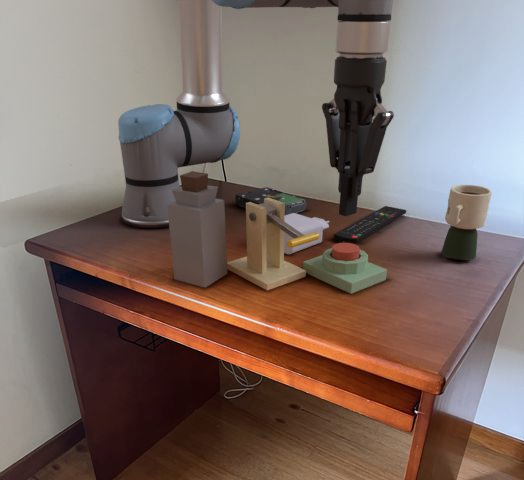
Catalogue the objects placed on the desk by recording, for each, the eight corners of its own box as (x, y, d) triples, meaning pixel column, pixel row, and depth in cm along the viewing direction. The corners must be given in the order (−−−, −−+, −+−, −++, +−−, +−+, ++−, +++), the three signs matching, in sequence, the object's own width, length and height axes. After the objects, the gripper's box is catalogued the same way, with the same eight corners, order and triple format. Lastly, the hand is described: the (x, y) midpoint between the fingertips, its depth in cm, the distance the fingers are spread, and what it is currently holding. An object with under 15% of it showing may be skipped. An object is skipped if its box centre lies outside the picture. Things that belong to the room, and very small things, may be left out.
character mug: (451, 245, 110) (463, 180, 104) (486, 253, 107) (501, 186, 100) (428, 261, 103) (439, 193, 96) (464, 271, 99) (478, 200, 93)
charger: (341, 237, 115) (292, 256, 106) (309, 226, 120) (259, 243, 112) (343, 215, 112) (292, 232, 104) (310, 205, 118) (259, 221, 109)
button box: (302, 271, 100) (303, 251, 98) (337, 259, 104) (338, 239, 102) (350, 294, 92) (352, 272, 90) (386, 279, 97) (388, 258, 94)
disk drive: (234, 206, 134) (275, 219, 124) (234, 194, 132) (275, 207, 123) (266, 197, 140) (307, 210, 130) (266, 186, 138) (307, 198, 129)
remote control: (405, 215, 126) (406, 210, 126) (355, 246, 110) (355, 240, 109) (384, 211, 129) (385, 205, 128) (332, 241, 113) (332, 234, 112)
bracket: (306, 276, 98) (308, 206, 91) (267, 290, 93) (266, 217, 86) (264, 256, 106) (263, 190, 99) (226, 268, 101) (223, 200, 94)
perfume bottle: (204, 287, 94) (197, 182, 85) (174, 279, 97) (164, 176, 88) (227, 274, 99) (223, 172, 90) (197, 266, 102) (190, 167, 93)
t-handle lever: (318, 243, 90) (320, 230, 89) (290, 252, 87) (293, 239, 85) (272, 212, 97) (274, 200, 95) (245, 219, 94) (247, 207, 92)
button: (325, 256, 97) (326, 246, 96) (344, 249, 99) (345, 240, 98) (345, 264, 93) (346, 254, 92) (364, 257, 96) (365, 248, 95)
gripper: (413, 57, 77) (392, 219, 90) (346, 51, 86) (335, 200, 99) (378, 60, 73) (361, 229, 86) (311, 54, 82) (305, 208, 95)
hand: (347, 213), depth 92 cm, fingers closed
